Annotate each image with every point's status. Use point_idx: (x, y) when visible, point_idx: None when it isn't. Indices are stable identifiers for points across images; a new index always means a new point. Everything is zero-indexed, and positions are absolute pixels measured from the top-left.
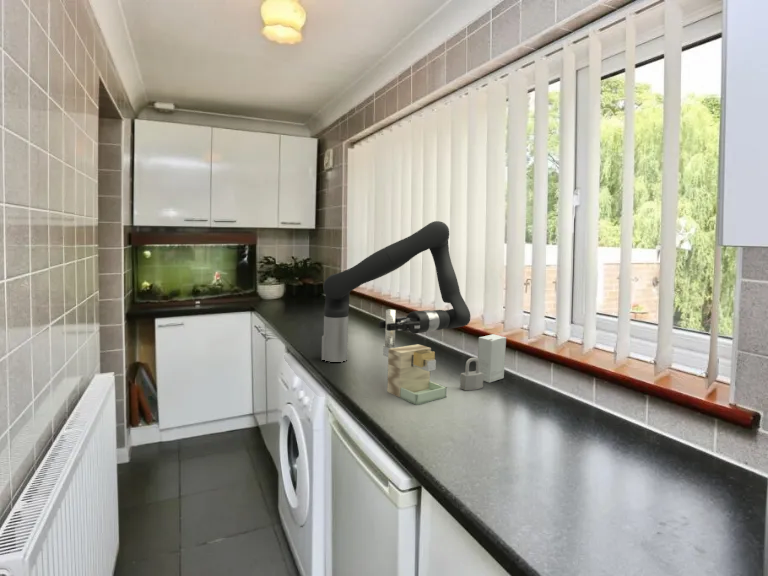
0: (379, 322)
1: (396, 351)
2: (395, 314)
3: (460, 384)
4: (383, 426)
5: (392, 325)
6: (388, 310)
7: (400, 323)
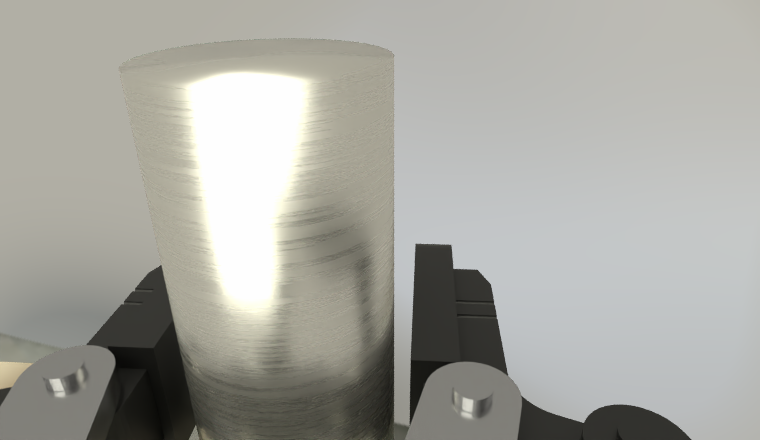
0: (431, 249)
1: (15, 363)
2: (144, 183)
3: None
4: (16, 343)
5: (146, 279)
6: (265, 42)
7: (25, 387)
